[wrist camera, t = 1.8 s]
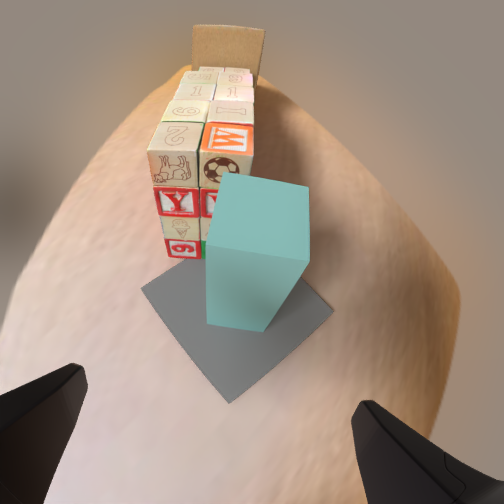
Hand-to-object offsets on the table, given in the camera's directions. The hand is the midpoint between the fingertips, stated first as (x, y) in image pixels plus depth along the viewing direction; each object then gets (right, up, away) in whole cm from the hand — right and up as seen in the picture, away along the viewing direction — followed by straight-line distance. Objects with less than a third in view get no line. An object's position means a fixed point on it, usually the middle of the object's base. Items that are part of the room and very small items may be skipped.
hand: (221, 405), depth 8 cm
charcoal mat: (0, 0, +17) cm, 17 cm away
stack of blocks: (-3, +13, +23) cm, 27 cm away
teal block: (0, 0, +16) cm, 16 cm away
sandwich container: (-3, +29, +34) cm, 45 cm away
